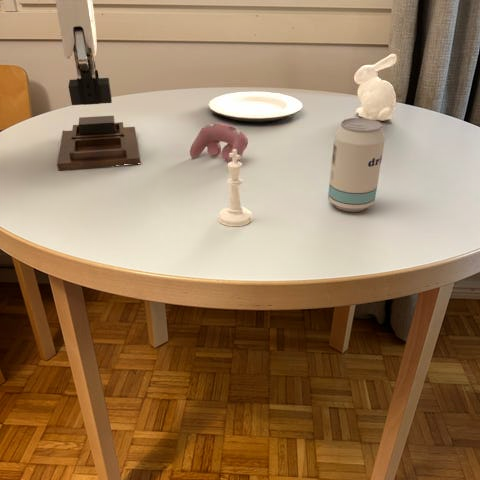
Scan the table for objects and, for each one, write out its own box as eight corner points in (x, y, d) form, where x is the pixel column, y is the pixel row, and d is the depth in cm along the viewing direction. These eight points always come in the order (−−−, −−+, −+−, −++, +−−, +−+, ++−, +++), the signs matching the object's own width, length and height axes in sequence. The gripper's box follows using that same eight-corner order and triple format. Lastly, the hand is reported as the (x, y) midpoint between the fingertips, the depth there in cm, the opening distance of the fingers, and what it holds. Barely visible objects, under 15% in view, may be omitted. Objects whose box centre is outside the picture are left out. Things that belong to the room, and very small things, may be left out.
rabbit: (345, 110, 120) (352, 52, 113) (382, 106, 122) (391, 49, 115) (372, 126, 111) (382, 63, 103) (411, 122, 113) (423, 60, 106)
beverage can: (364, 219, 76) (378, 135, 69) (320, 208, 79) (328, 126, 71) (379, 201, 81) (393, 121, 74) (336, 192, 84) (346, 113, 76)
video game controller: (244, 171, 94) (254, 131, 93) (231, 167, 90) (241, 125, 89) (200, 160, 99) (209, 121, 97) (186, 155, 95) (195, 115, 93)
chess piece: (233, 208, 79) (233, 141, 73) (259, 218, 76) (260, 149, 70) (210, 219, 76) (208, 150, 70) (236, 230, 73) (236, 159, 67)
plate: (304, 101, 125) (304, 93, 124) (298, 129, 109) (299, 119, 108) (217, 98, 128) (217, 89, 127) (199, 124, 111) (199, 114, 110)
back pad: (71, 105, 87) (68, 86, 85) (72, 98, 91) (69, 79, 89) (111, 103, 88) (109, 83, 87) (111, 96, 92) (108, 77, 90)
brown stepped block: (58, 170, 90) (53, 146, 88) (63, 137, 104) (59, 115, 102) (140, 164, 93) (138, 140, 90) (135, 132, 107) (132, 111, 104)
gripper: (48, -33, 84) (70, 88, 95) (39, -24, 71) (66, 115, 82) (96, -34, 86) (113, 86, 97) (95, -25, 72) (115, 112, 84)
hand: (91, 98), depth 89 cm, fingers closed on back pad, 4 cm apart
